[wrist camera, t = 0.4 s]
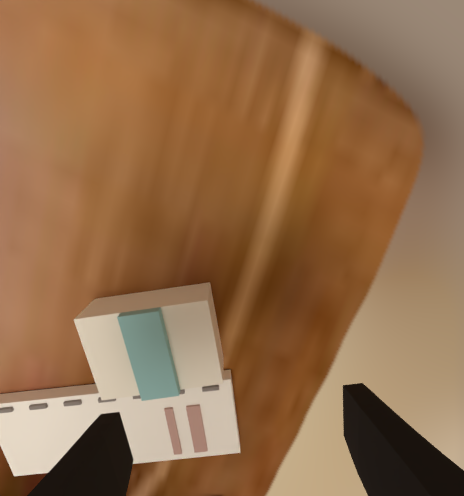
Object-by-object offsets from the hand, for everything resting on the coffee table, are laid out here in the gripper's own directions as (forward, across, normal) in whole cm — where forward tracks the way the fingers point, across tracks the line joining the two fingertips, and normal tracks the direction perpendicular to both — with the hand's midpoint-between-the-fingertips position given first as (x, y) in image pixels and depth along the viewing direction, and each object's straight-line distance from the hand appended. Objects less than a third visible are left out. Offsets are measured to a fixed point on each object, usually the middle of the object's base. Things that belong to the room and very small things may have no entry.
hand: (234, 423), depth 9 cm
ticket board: (+10, +10, +10) cm, 17 cm away
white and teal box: (+11, +5, +2) cm, 12 cm away
